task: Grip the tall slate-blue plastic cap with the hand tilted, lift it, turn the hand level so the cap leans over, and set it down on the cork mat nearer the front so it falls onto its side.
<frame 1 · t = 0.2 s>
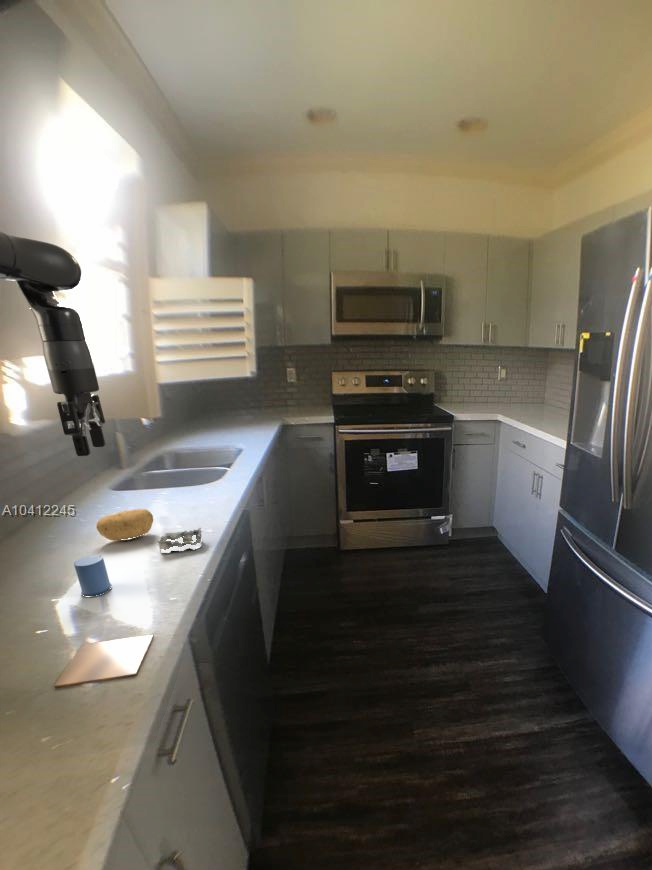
hand: (92, 450, 92), 31 cm above the worktop, tool pointing down, fingers open, 8 cm apart
mat: (108, 660, 78), on the worktop
egg carton: (182, 547, 122), on the worktop
cap: (97, 590, 101), on the worktop
potato: (129, 539, 129), on the worktop
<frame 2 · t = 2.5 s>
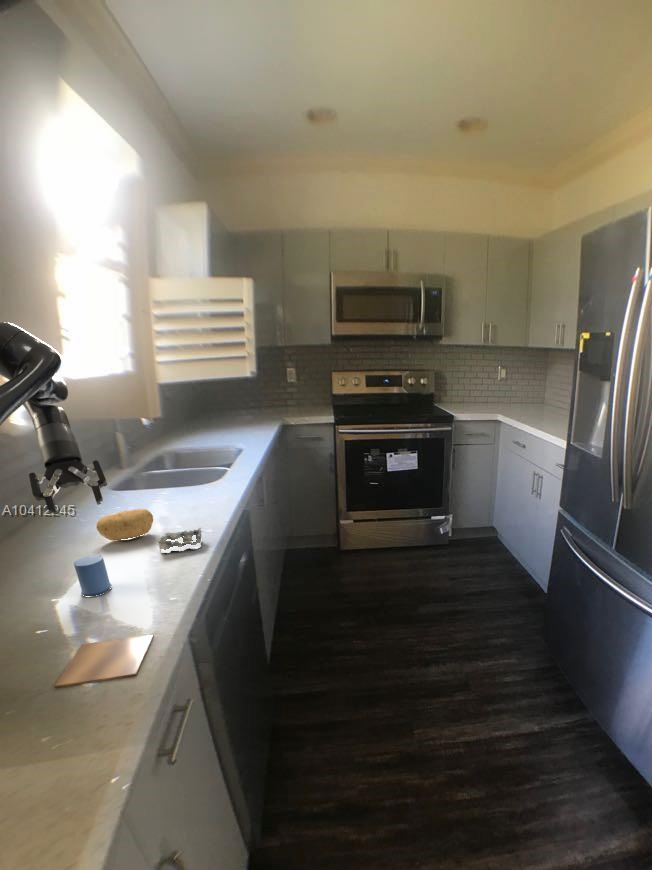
hand: (77, 508, 104), 17 cm above the worktop, tool tilted 40°, fingers open, 8 cm apart
nothing on the worktop moved.
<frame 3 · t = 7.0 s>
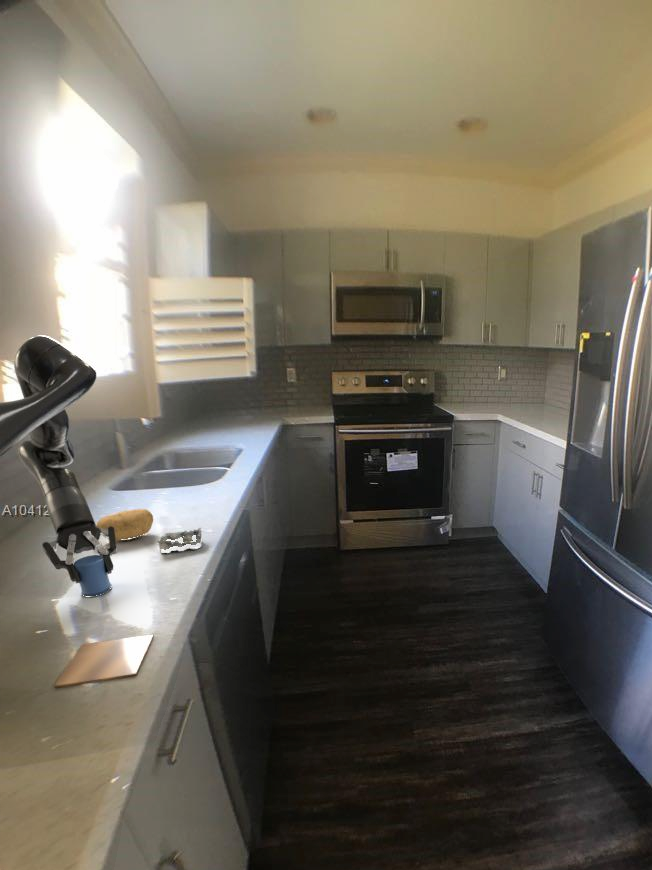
hand: (94, 576, 99), 4 cm above the worktop, tool tilted 45°, fingers closed on cap, 5 cm apart
cap: (97, 590, 101), on the worktop, touching gripper
everything else where it was.
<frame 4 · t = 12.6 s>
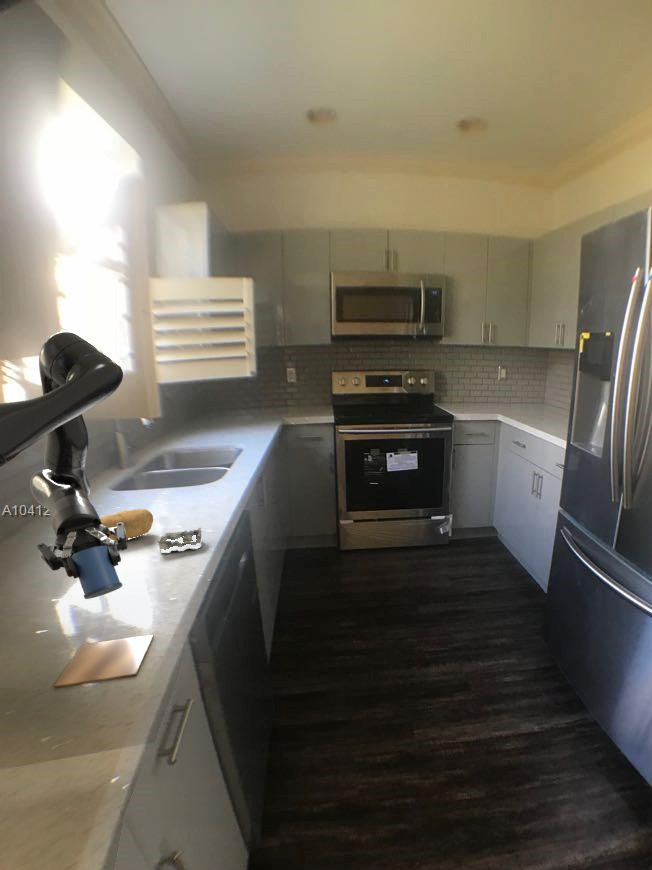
hand: (95, 567, 77), 16 cm above the worktop, tool horizontal, fingers closed on cap, 5 cm apart
cap: (104, 592, 78), point 11 cm above the worktop, tilted 32°, touching gripper
everything else where it was.
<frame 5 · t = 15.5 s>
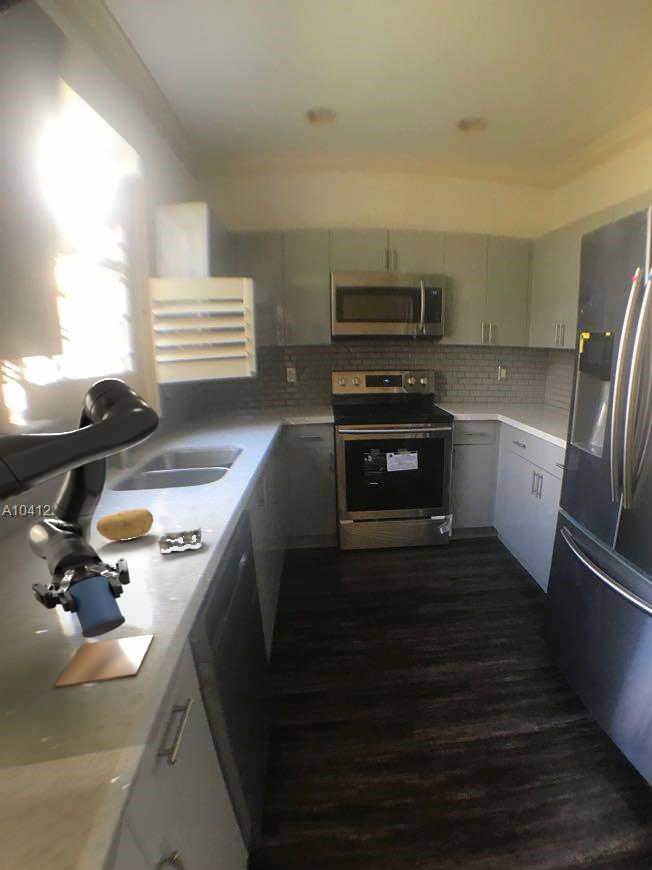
hand: (95, 599, 70), 14 cm above the worktop, tool horizontal, fingers closed on cap, 5 cm apart
cap: (104, 628, 70), point 10 cm above the worktop, tilted 45°, touching gripper
everything else where it was.
when the fingers open (7 cm above the worktop, at t = 18.0 s): cap moves 2 cm and tips over, resting on mat.
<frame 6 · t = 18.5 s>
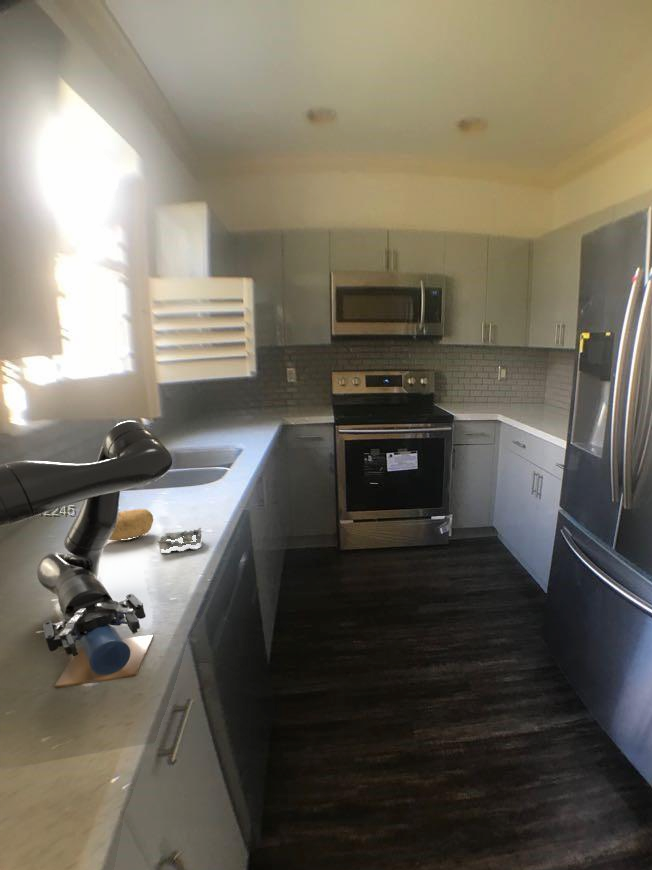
hand: (105, 639, 73), 7 cm above the worktop, tool horizontal, fingers open, 8 cm apart
cap: (110, 657, 74), point 3 cm above the worktop, tilted 92°, touching mat
everything else where it was.
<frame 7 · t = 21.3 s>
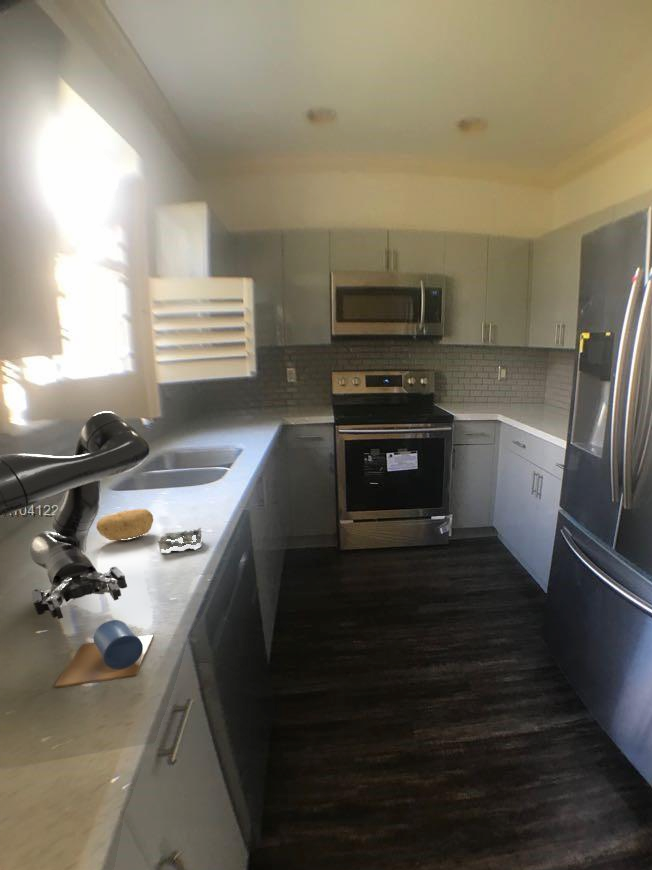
hand: (88, 604, 80), 8 cm above the worktop, tool horizontal, fingers open, 8 cm apart
cap: (124, 652, 75), point 3 cm above the worktop, tilted 92°, touching mat
everything else where it was.
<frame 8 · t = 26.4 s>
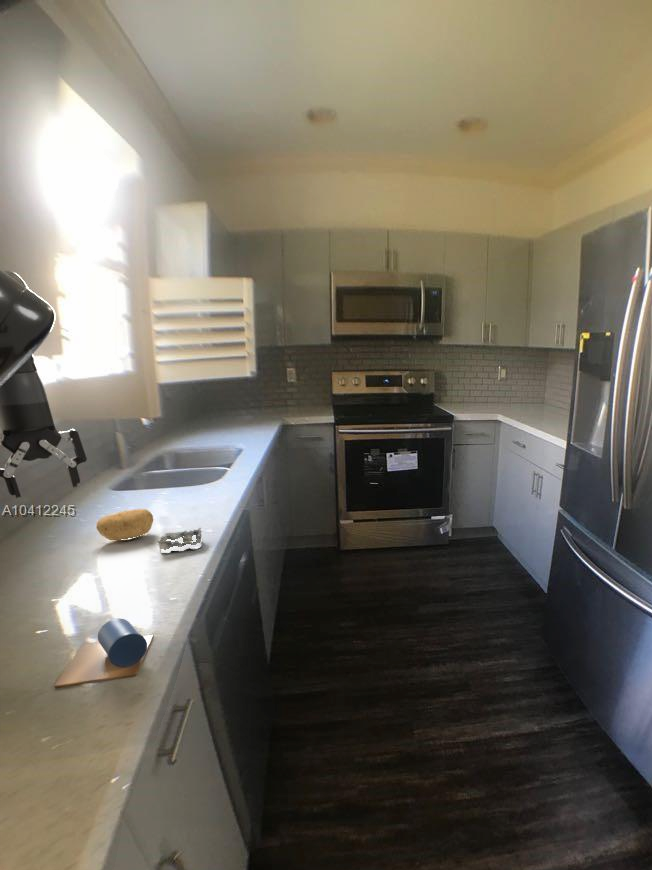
hand: (47, 491, 83), 26 cm above the worktop, tool pointing down, fingers open, 8 cm apart
nothing on the worktop moved.
at the end: cap tilted 92°; cap inside the target area on the mat (5.6 cm from its centre), point 3.3 cm above the mat's base; the gripper is holding nothing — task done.
